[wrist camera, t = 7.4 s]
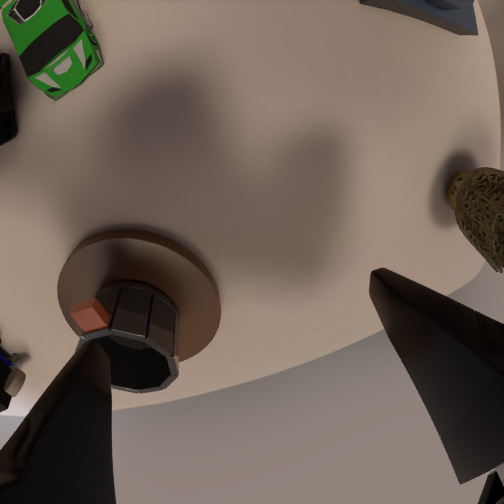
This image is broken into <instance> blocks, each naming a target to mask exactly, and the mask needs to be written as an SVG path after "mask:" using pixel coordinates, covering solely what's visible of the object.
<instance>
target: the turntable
mask: <svg viewBox="0 0 504 504" xmlns="http://www.w3.org/2000/svg"><path fill="white" fill-rule="evenodd" d="M116 282H136V283H141V284H144V285H147V286H150V287H152V288H154V289H156V290H158V291H159V292H161V293H162V294H163V295H165V296H166V297H167V298H168V299H169V300H170V301H171V302H172V304H173V305H174V307H175V308H176V310H177V313H178V316H179V362H181V361H184V360H186V359H188V358H190V357H192V356H194V355H196V354H197V353H199V352H200V351H202V350H203V349H204V348H205V347H206V346H207V345H208V344H209V343H210V342H211V341H212V339H213V337H214V336H215V334H216V332H217V330H218V327H219V323H220V317H221V308H220V300H219V293H218V289H217V286H216V283H215V281H214V279H213V277H212V275H211V274H210V272H209V271H208V269H207V268H206V266H205V265H204V264H203V263H202V262H201V261H200V260H199V259H198V258H197V257H196V256H195V255H194V254H192V253H191V252H190V251H189V250H187V249H186V248H184V247H183V246H181V245H180V244H178V243H176V242H174V241H172V240H170V239H168V238H166V237H163V236H160V235H158V234H154V233H150V232H146V231H140V230H114V231H108V232H104V233H101V234H97V235H95V236H93V237H91V238H89V239H87V240H86V241H84V242H83V243H81V244H80V245H79V246H78V247H77V248H76V249H75V250H74V251H73V252H72V254H71V255H70V257H69V258H68V260H67V261H66V263H65V265H64V266H63V268H62V271H61V273H60V276H59V280H58V290H57V291H58V300H59V304H60V308H61V310H62V313H63V315H64V317H65V319H66V321H67V323H68V324H69V325H70V327H71V328H72V330H73V331H74V332H75V333H76V334H77V335H78V336H79V337H80V335H81V332H82V328H81V327H80V326H79V325H78V323H77V322H76V321H75V320H74V318H73V317H72V316H71V315H70V312H71V310H72V307H73V305H74V304H77V303H80V302H84V301H87V300H90V299H93V298H94V297H95V295H96V294H97V292H98V291H100V290H101V289H102V288H104V287H105V286H107V285H109V284H112V283H116Z"/></svg>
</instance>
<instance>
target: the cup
mask: <svg viewBox="0 0 504 504" xmlns="http://www.w3.org/2000/svg"><path fill="white" fill-rule="evenodd" d="M447 200H448V203H449V205H450V206H451V208H452V209H453V210H455V217H456V221H457V224H458V226H459V228H460V230H461V231H462V233H463V234H464V236H465V237H466V238H467V239H468V241H469V242H470V243H471V244H472V245H473V246H474V247H475V248H476V249H477V251H478V252H479V253H480V254H481V255H482V256H483V257H484V258H485V259H486V261H487V262H488V263H489V264H490V265H491V267H492V268H493V269H494V270H495V271H496V272H500V273H502V272H503V270H502V267H503V268H504V171H501V170H498V169H494V168H488V167H483V168H478V169H475V170H473V171H471V172H470V173H468V172H459V173H456V174H455V175H454V176H453V177H452V178H451V180H450V182H449V184H448V187H447Z"/></svg>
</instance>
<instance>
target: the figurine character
mask: <svg viewBox="0 0 504 504" xmlns="http://www.w3.org/2000/svg"><path fill="white" fill-rule="evenodd" d="M0 343H1V341H0ZM17 360H18V355H16V354H13V355H12V356H11V357H10V358H9V359H8V360H6V359H5V357H4V356H3V355H2V354H1V353H0V412H2V411H4V410H6V409H8V407H9V404H10V401H11V398H12V397H15V396H16V395H17V394H18V392H19V391H20V389H21V388H22V386H23V384H24V381H25V378H26V374H25V373H24V372H22V371H21V370H20V369H19V368H18V367H15V368H14V369H13V370H12V369H10V368H9V366H12V365H13V364H14V363H15V362H16V361H17Z"/></svg>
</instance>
